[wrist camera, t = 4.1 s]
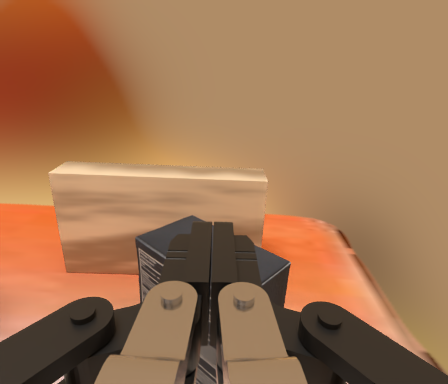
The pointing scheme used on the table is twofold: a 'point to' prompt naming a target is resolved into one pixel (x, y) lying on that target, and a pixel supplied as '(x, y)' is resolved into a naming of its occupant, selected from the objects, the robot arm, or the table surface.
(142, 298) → the small box
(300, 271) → the table surface
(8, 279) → the table surface
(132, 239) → the maple board
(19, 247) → the table surface
